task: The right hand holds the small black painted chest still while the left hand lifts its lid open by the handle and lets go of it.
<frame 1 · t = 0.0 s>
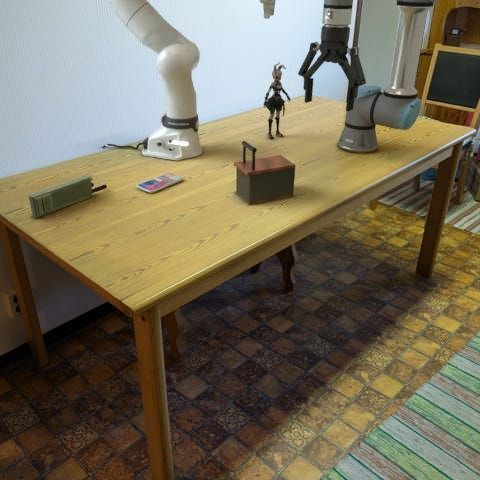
left hand: (268, 16, 163), 48 cm above the table, tool pointing down, fingers open, 8 cm apart
right hand: (328, 106, 144), 28 cm above the table, tool pointing down, fingers open, 13 cm apart
lid: (264, 154, 152), point 13 cm above the table, hinge at 0.0°
chest: (264, 194, 158), on the table
smartphone: (160, 184, 164), on the table
handheld radio: (72, 203, 151), on the table
figurine: (273, 137, 209), on the table
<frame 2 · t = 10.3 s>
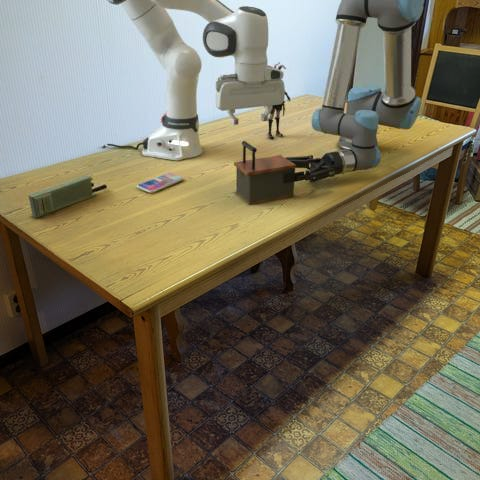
left hand: (249, 122, 145), 24 cm above the table, tool pointing down, fingers open, 8 cm apart
right hand: (277, 173, 157), 7 cm above the table, tool horizontal, fingers closed on chest, 9 cm apart
chest: (264, 194, 158), on the table, touching right hand
everything else where it was.
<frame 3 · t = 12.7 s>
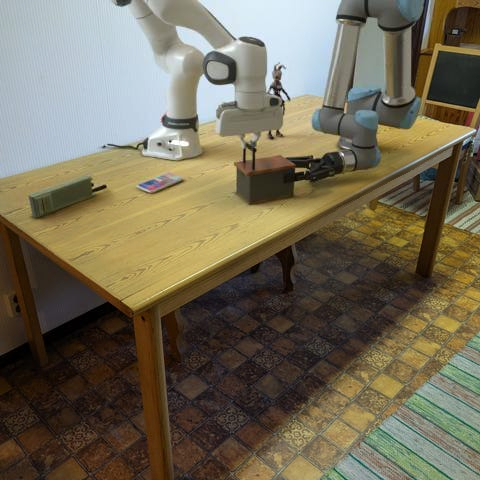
left hand: (249, 147, 148), 16 cm above the table, tool pointing down, fingers closed on lid
right hand: (277, 173, 157), 6 cm above the table, tool horizontal, fingers closed on chest, 9 cm apart
lid: (264, 154, 152), point 13 cm above the table, hinge at -0.1°, touching left hand
chest: (264, 194, 158), on the table, touching right hand
everything else where it was.
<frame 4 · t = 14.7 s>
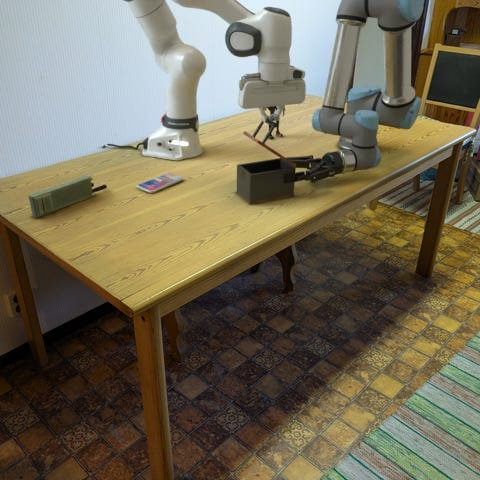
left hand: (270, 121, 147), 23 cm above the table, tool pointing down, fingers closed
right hand: (277, 173, 157), 6 cm above the table, tool horizontal, fingers closed on chest, 9 cm apart
lid: (276, 139, 151), point 17 cm above the table, hinge at 35.6°, touching left hand
chest: (264, 194, 158), on the table, touching right hand
everything else where it was.
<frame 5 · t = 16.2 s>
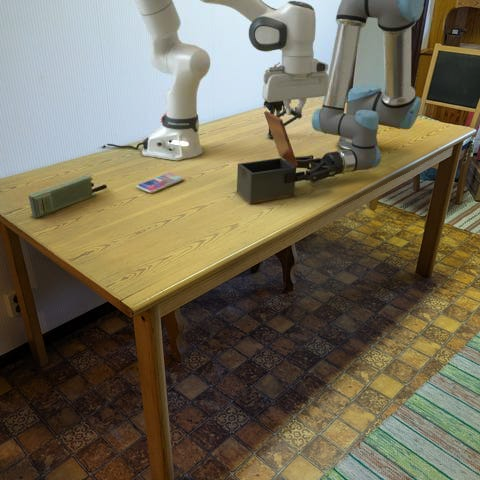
left hand: (294, 114, 149), 25 cm above the table, tool pointing down, fingers closed on lid
right hand: (277, 173, 157), 6 cm above the table, tool horizontal, fingers closed on chest, 9 cm apart
lid: (290, 133, 152), point 19 cm above the table, hinge at 64.9°, touching left hand
chest: (265, 194, 158), on the table, touching right hand
everything else where it was.
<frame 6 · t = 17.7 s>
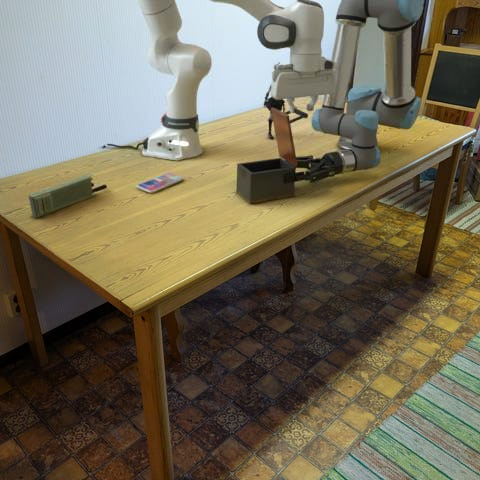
left hand: (301, 111, 150), 25 cm above the table, tool pointing down, fingers open, 4 cm apart
right hand: (277, 173, 157), 6 cm above the table, tool horizontal, fingers closed on chest, 9 cm apart
lid: (293, 132, 153), point 19 cm above the table, hinge at 73.9°
chest: (264, 194, 158), on the table, touching right hand
everything else where it was.
when the right hand's fingers open (6 cm above the table, at t = 20.8 s): chest stays where it is, on the table.
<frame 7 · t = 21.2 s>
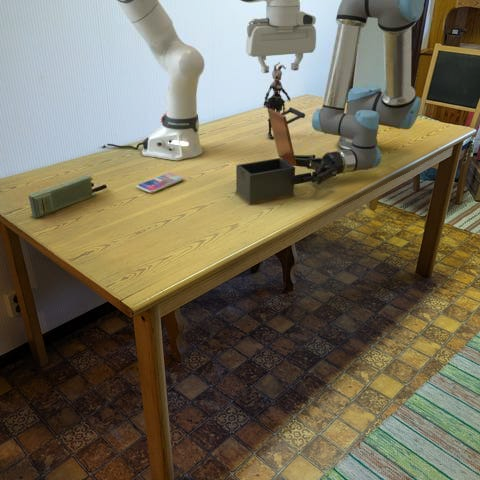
left hand: (280, 71, 141), 37 cm above the table, tool pointing down, fingers open, 8 cm apart
right hand: (280, 172, 157), 7 cm above the table, tool horizontal, fingers open, 13 cm apart
lid: (291, 133, 152), point 19 cm above the table, hinge at 72.6°
chest: (264, 194, 158), on the table
everything else where it was.
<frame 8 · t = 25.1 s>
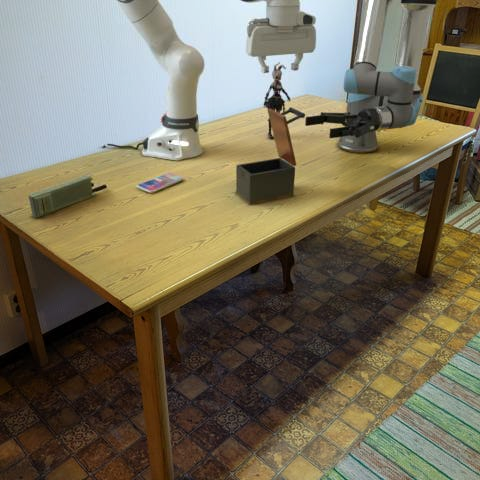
left hand: (280, 71, 141), 37 cm above the table, tool pointing down, fingers open, 8 cm apart
right hand: (317, 127, 155), 19 cm above the table, tool horizontal, fingers open, 13 cm apart
nothing on the table moved.
at the end: lid at +73° (first picture: +0°); the left hand is holding nothing; the right hand is holding nothing; chest tilted 0°; chest never tilted more than 3° during the clip; chest moved 0.0 cm from its start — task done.
